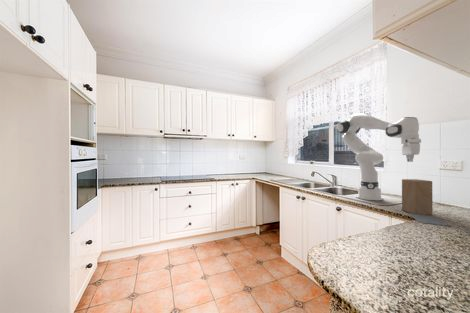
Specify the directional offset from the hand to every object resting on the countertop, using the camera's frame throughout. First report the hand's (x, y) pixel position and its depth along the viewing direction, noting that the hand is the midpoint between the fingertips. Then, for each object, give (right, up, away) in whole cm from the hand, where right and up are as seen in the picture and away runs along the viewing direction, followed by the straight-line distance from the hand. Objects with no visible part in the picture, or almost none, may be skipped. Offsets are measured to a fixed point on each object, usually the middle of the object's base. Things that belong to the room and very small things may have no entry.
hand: (410, 161), depth 130 cm
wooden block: (-5, -31, -10) cm, 33 cm away
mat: (-12, -31, -24) cm, 41 cm away
